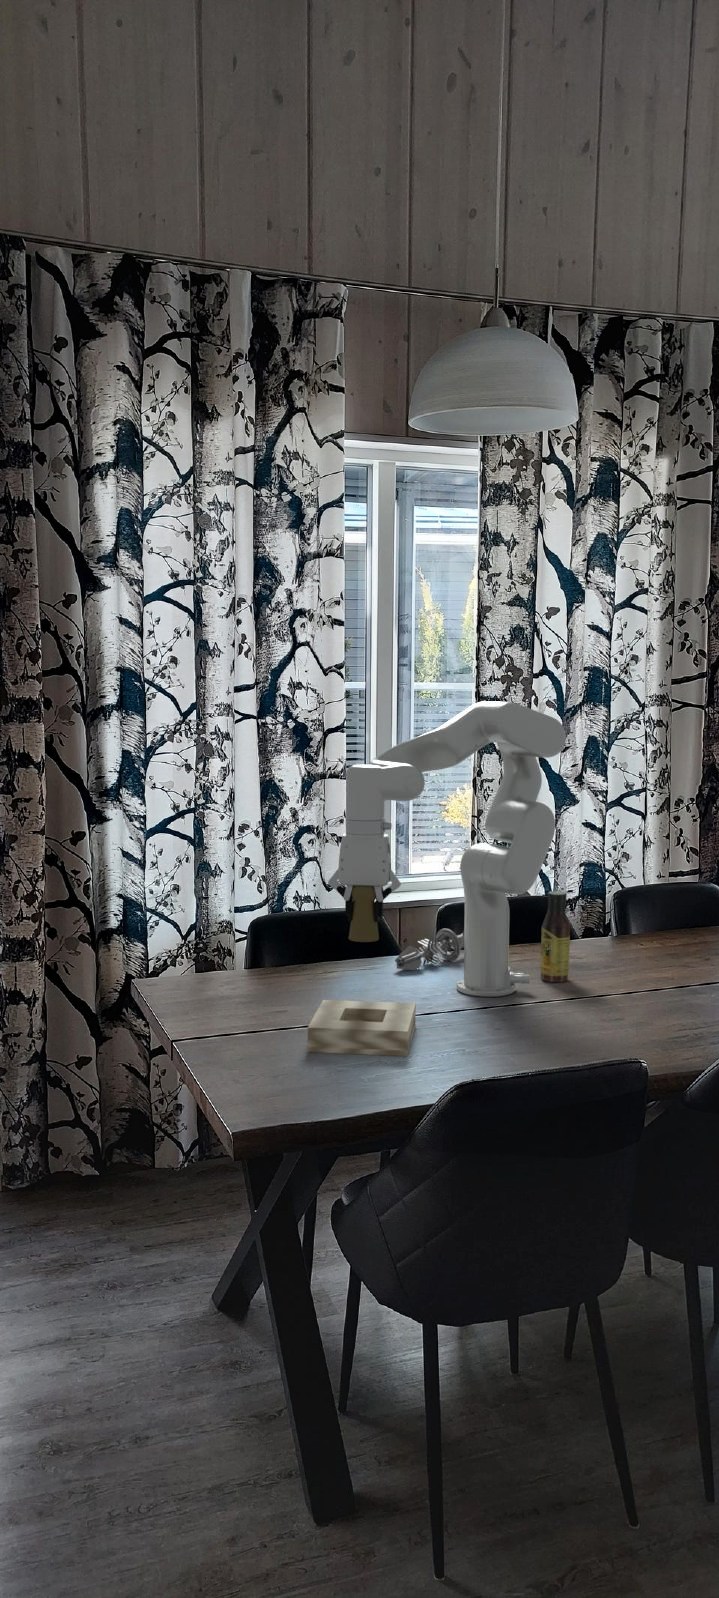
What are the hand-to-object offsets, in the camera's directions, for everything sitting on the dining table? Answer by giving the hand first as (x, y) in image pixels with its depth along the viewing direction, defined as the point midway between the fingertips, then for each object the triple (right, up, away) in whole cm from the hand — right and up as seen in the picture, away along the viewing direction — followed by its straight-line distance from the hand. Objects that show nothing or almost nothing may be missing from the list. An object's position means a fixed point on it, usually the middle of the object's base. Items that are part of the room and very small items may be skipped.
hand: (364, 919), depth 229 cm
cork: (0, -4, 0) cm, 4 cm away
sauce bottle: (+42, -17, +29) cm, 54 cm away
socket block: (0, -21, -12) cm, 24 cm away
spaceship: (+20, -15, +47) cm, 53 cm away
